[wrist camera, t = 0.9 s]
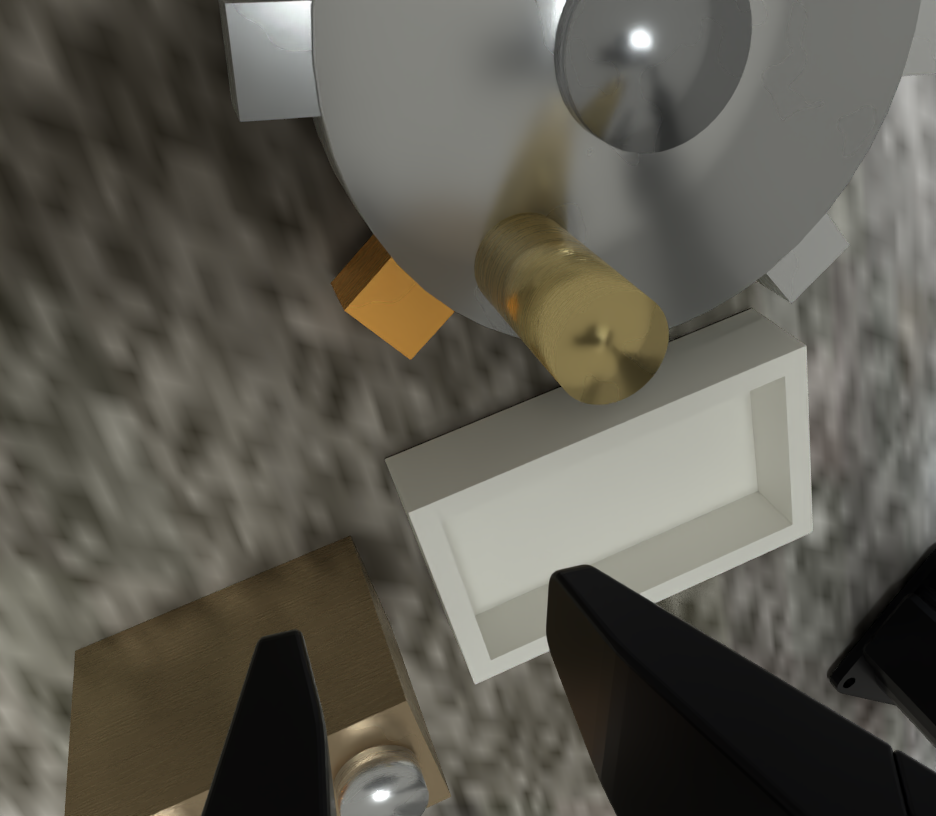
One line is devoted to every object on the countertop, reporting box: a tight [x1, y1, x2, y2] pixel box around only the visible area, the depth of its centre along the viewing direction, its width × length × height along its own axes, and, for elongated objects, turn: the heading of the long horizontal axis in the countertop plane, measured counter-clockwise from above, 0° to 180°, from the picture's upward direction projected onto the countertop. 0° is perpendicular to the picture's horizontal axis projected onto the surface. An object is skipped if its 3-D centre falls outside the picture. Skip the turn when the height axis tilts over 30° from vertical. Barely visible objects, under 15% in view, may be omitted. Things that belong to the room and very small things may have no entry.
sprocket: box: [219, 0, 936, 405], centre depth 15 cm, size 15×15×6 cm
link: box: [65, 536, 451, 816], centre depth 20 cm, size 7×4×6 cm, turn 105°
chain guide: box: [385, 308, 813, 684], centre depth 23 cm, size 10×6×2 cm, turn 105°
